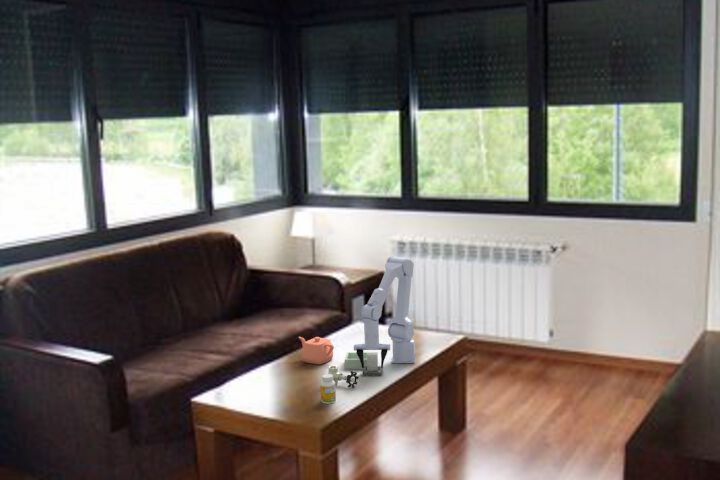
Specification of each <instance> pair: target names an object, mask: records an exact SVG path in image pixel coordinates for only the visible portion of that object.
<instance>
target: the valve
mask: <svg viewBox="0 0 720 480" xmlns="http://www.w3.org/2000/svg"><path fill="white" fill-rule="evenodd" d="M327 369H328V373H327V374H332V375H333V381H335V385H338V383H339V382H340V381H345V383H346V384H347V388H350V389H351V388H352V389H355V385H356V386H357V385H358V382H357V380H359V376H357V375H358V372H357V371H353V370H351V371H350V374H347V375H345V374H343V373H342V372H338V371H339V368H338V366H337V365H330V366H328V368H327Z"/></svg>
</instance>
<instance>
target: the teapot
mask: <svg viewBox="0 0 720 480" xmlns="http://www.w3.org/2000/svg"><path fill="white" fill-rule="evenodd" d="M298 338H299V340H300V341H301V345H302V361H303V363H307V364H308V363H309V364H312V365H321V364H325V363H327V362H329V361H330V360H332V359H333V357H334V349H335V347H334V345H333V343H332V341H331V339H330V338H329V339H328V338H323V337H319V336H315V337H313V338H311V339H308V340H306V339H305V338H304V337H302V336H298Z"/></svg>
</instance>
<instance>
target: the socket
mask: <svg viewBox="0 0 720 480" xmlns="http://www.w3.org/2000/svg"><path fill="white" fill-rule="evenodd" d="M378 368H379V372H367V366H364V368H363V369H362V377H382V375H383V369H384V367H383V368H381V365H380V366H379V365H378Z"/></svg>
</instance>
